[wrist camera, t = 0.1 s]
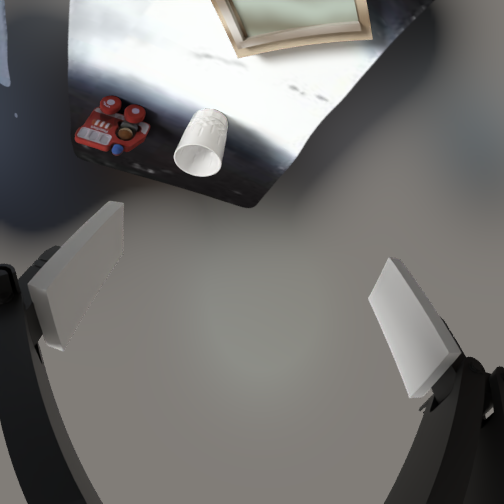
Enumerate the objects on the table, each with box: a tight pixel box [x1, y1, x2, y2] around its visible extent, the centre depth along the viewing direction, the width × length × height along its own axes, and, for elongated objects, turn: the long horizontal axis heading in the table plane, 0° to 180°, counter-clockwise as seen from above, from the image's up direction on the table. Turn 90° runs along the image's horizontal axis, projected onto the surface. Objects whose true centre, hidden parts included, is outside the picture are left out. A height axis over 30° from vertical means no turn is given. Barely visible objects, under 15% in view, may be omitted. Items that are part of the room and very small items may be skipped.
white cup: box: [174, 108, 228, 176], centre depth 48 cm, size 8×8×10 cm
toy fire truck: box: [75, 96, 150, 156], centre depth 46 cm, size 7×12×10 cm, turn 59°
